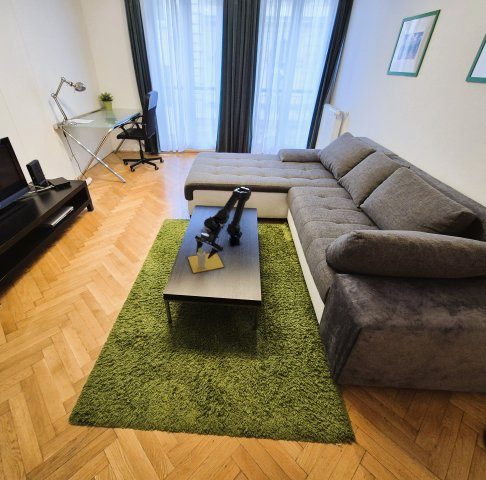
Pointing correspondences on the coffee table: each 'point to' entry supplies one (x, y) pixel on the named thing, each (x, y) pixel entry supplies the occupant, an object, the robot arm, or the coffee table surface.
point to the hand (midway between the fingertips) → (202, 255)
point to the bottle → (201, 258)
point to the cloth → (210, 263)
